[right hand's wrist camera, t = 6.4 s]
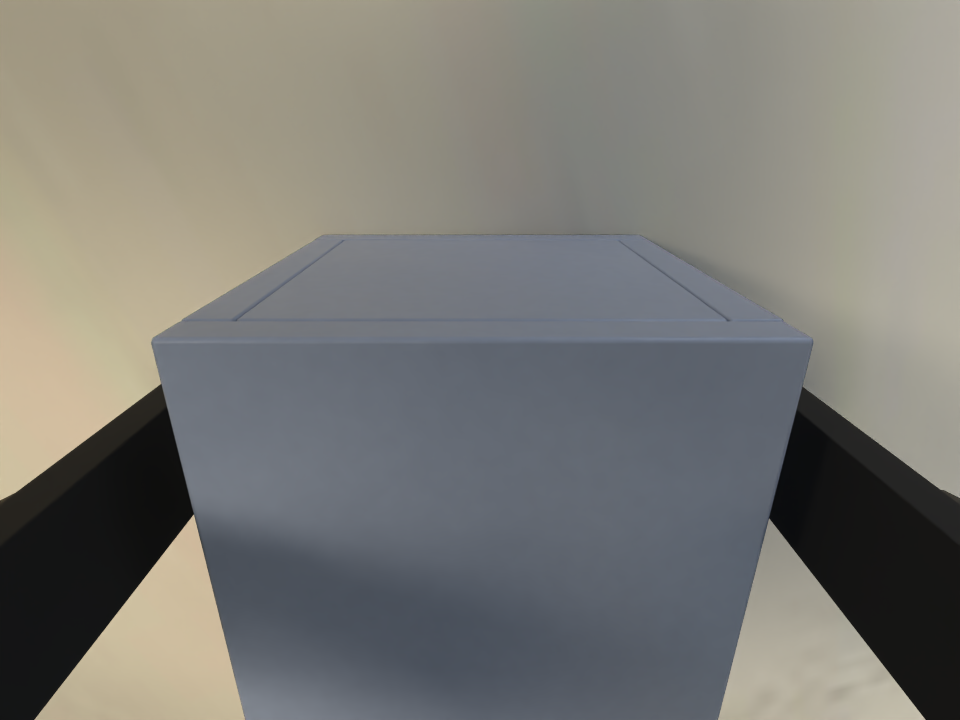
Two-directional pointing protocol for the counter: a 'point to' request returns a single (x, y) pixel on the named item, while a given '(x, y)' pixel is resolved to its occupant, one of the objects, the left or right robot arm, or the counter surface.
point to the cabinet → (482, 475)
